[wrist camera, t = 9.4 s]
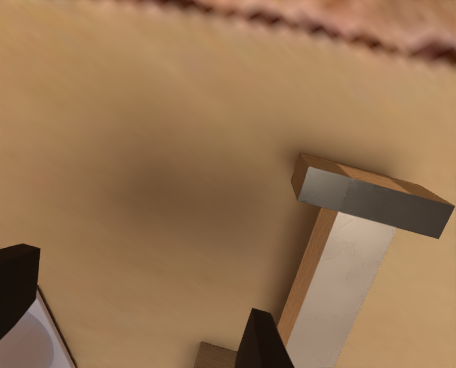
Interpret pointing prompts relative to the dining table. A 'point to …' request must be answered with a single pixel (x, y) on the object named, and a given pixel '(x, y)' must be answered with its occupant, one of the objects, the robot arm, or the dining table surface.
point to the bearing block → (215, 357)
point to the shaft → (346, 250)
